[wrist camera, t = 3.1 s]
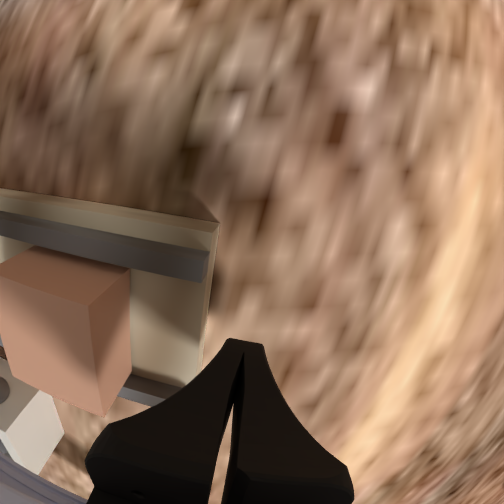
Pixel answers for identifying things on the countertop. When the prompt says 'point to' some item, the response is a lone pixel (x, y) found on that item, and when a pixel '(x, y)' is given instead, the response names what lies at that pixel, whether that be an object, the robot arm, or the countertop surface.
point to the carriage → (67, 325)
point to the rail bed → (131, 276)
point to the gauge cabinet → (27, 421)
